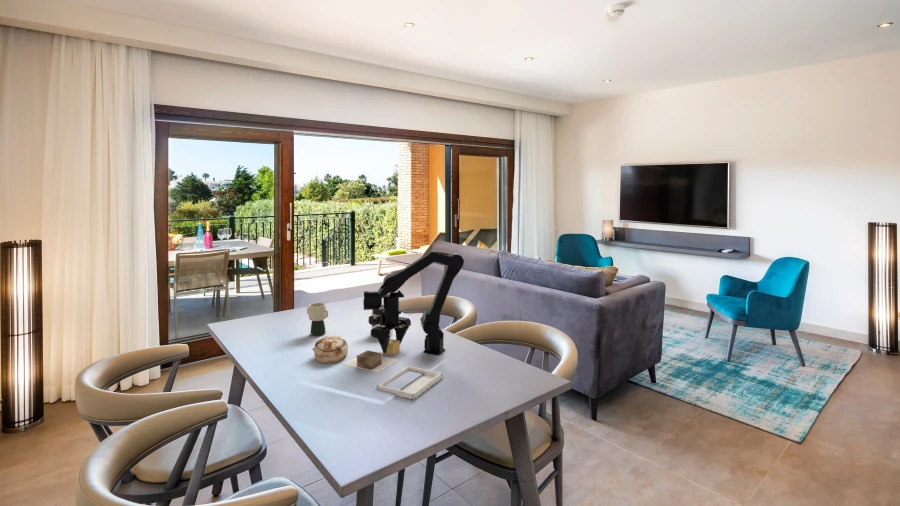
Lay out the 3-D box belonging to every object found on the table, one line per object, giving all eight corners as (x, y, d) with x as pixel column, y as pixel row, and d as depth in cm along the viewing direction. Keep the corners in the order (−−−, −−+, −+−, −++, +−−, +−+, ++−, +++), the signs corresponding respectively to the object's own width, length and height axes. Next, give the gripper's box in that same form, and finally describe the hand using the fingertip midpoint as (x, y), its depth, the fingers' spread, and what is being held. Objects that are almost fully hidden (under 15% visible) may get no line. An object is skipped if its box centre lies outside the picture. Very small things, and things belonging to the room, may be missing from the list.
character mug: (333, 333, 197) (333, 304, 195) (322, 338, 191) (321, 307, 189) (313, 330, 202) (312, 301, 200) (302, 334, 195) (301, 304, 193)
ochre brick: (399, 353, 174) (399, 340, 174) (393, 357, 170) (393, 344, 170) (389, 351, 176) (389, 338, 176) (383, 355, 172) (383, 342, 172)
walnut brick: (381, 364, 161) (381, 353, 160) (371, 370, 156) (371, 358, 155) (367, 361, 164) (367, 350, 163) (357, 366, 158) (356, 355, 158)
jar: (371, 337, 192) (370, 309, 191) (371, 331, 200) (371, 304, 199) (392, 336, 193) (392, 309, 192) (392, 331, 201) (392, 304, 200)
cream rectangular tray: (442, 378, 151) (442, 372, 151) (413, 400, 135) (413, 394, 135) (408, 370, 157) (408, 365, 157) (376, 391, 141) (376, 385, 141)
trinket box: (339, 349, 178) (338, 329, 177) (357, 360, 167) (357, 339, 166) (305, 356, 170) (304, 336, 169) (322, 369, 159) (322, 347, 157)
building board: (399, 361, 165) (399, 359, 165) (377, 374, 154) (377, 372, 154) (365, 354, 172) (365, 352, 172) (342, 366, 161) (342, 364, 160)
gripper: (387, 301, 183) (388, 338, 185) (358, 311, 166) (358, 353, 168) (411, 304, 178) (411, 343, 180) (383, 315, 161) (384, 358, 163)
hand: (391, 349), depth 173 cm, fingers open, 9 cm apart
